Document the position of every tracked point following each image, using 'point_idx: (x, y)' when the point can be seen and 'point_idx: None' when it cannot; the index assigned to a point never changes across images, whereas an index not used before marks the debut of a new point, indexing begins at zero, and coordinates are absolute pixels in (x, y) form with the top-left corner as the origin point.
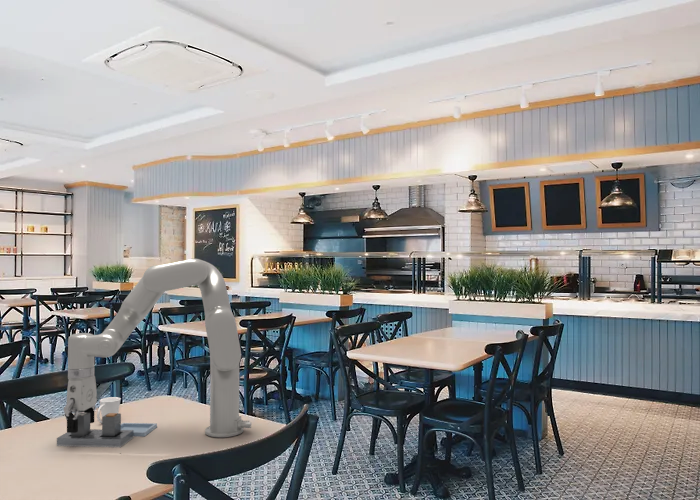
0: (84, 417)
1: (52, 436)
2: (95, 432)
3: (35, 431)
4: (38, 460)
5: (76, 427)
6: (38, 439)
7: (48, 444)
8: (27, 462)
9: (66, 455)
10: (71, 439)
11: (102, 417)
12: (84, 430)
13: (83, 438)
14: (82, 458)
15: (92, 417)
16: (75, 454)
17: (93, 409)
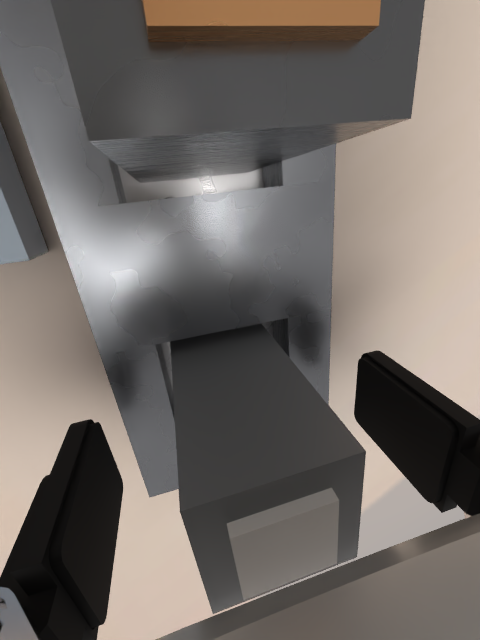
0: (334, 441)
1: (155, 539)
2: (177, 302)
3: (117, 629)
4: (445, 357)
5: (405, 374)
6: None
7: None
8: (459, 378)
9: (399, 287)
10: (326, 364)
11: (397, 118)
12: (271, 355)
13: (330, 290)
14: (451, 161)
15: (84, 470)
16: (388, 250)
17: (15, 598)
